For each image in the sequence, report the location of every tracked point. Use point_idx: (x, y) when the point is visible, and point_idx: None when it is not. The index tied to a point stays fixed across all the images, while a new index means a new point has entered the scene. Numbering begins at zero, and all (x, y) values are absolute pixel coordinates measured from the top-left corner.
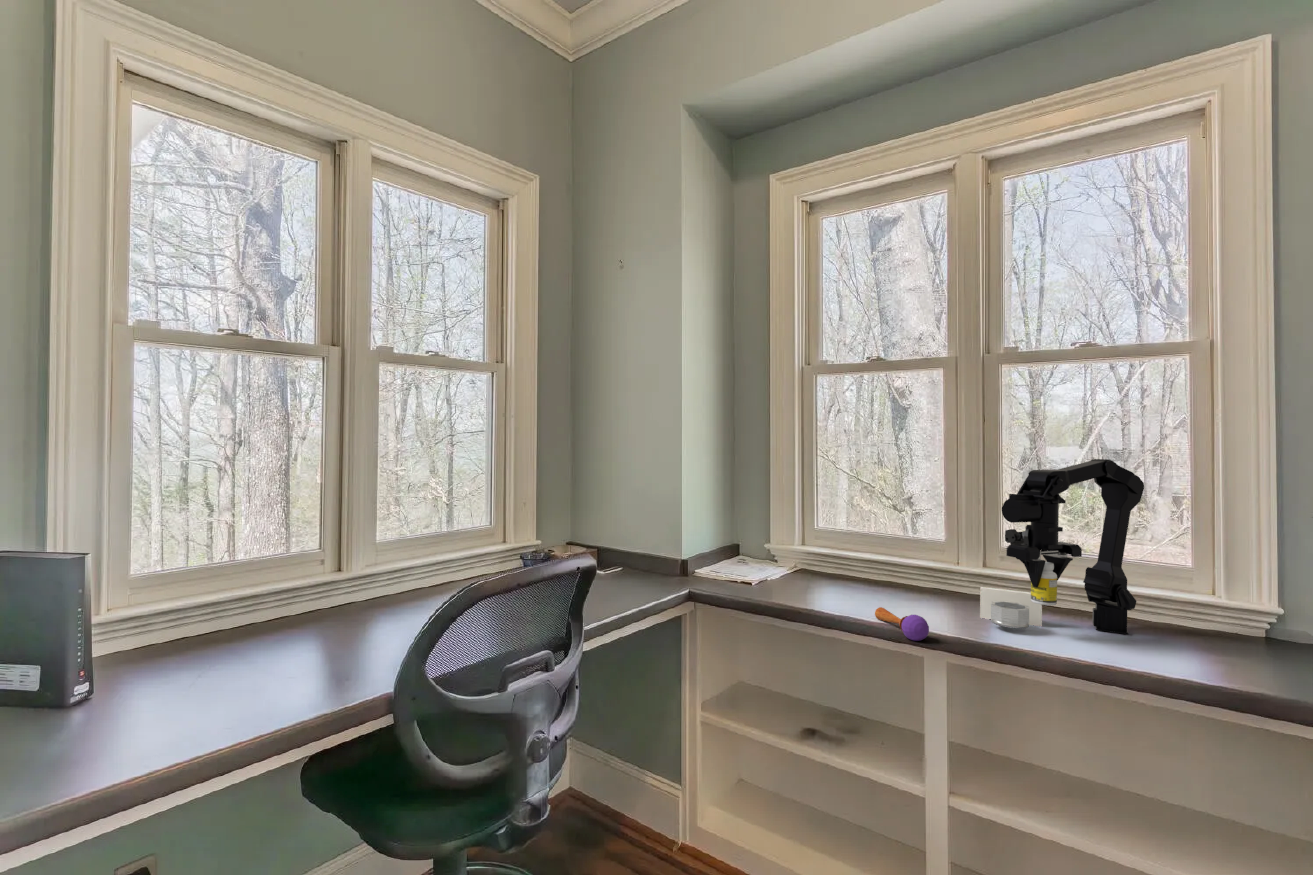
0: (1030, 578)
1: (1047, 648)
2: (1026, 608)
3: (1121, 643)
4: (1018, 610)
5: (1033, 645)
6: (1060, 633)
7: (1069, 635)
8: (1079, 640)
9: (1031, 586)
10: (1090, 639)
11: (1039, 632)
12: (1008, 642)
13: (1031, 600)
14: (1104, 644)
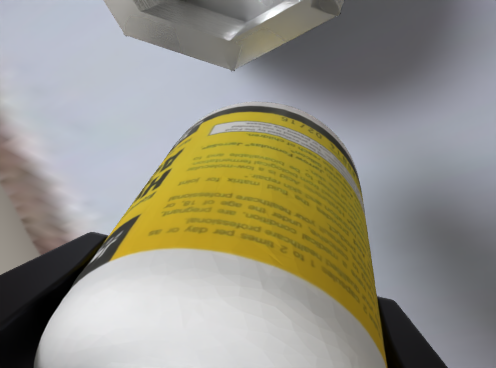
0: (9, 279)
1: (119, 190)
2: (245, 42)
3: (480, 321)
4: (133, 36)
5: (99, 141)
6: (431, 122)
7: (428, 163)
8: (372, 218)
9: (145, 189)
10: (436, 239)
11: (348, 50)
12: (23, 56)
13: (188, 129)
14: (399, 290)
